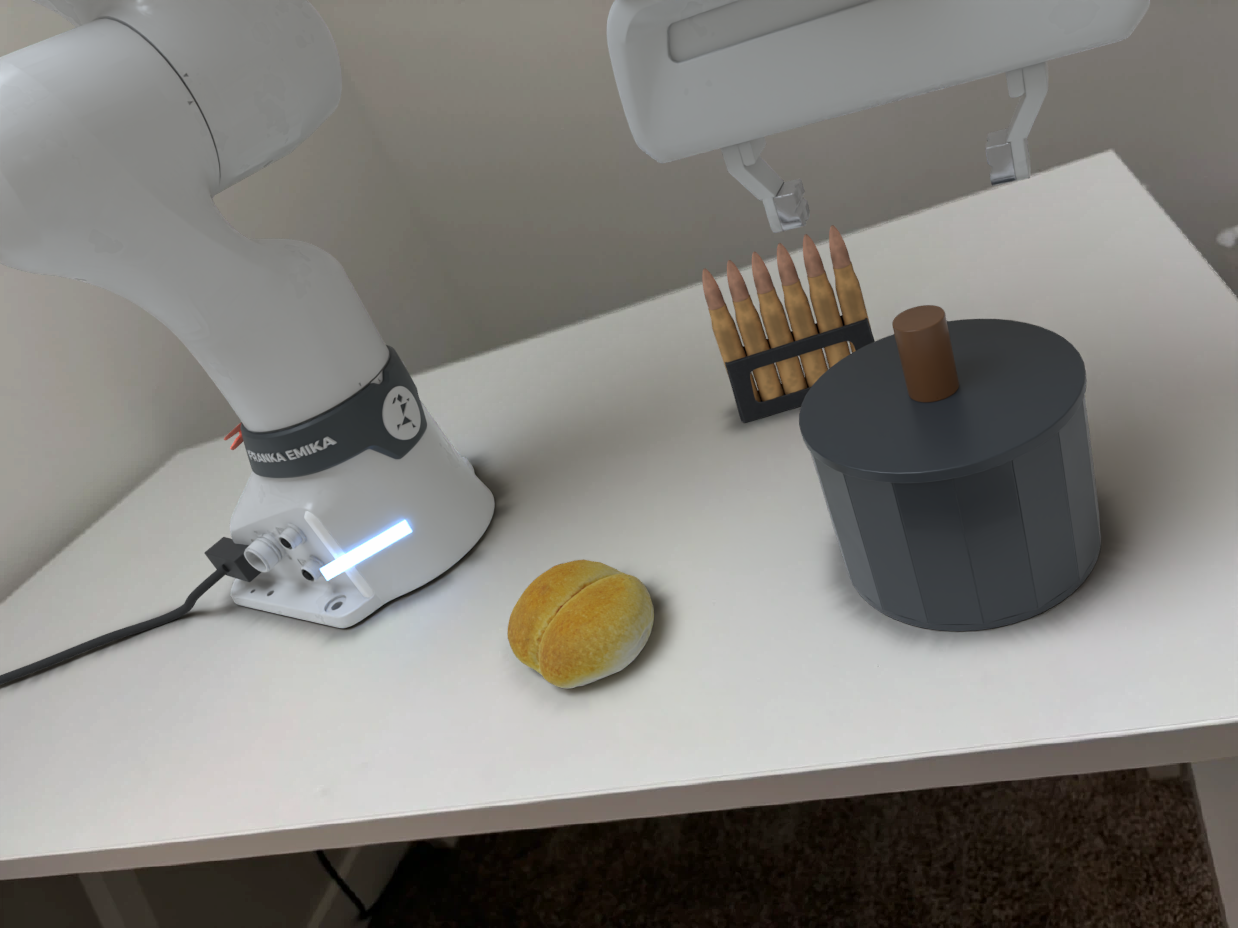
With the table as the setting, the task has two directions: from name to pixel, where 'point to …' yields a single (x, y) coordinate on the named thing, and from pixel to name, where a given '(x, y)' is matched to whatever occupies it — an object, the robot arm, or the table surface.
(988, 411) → the lid
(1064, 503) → the pot
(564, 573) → the bread roll
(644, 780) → the table surface
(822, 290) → the ammunition clip
